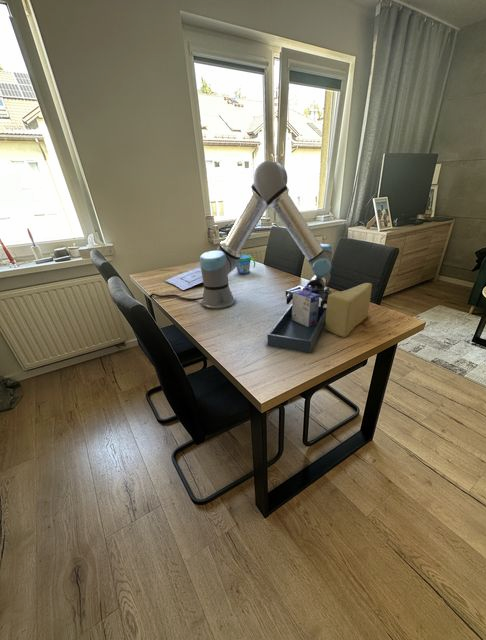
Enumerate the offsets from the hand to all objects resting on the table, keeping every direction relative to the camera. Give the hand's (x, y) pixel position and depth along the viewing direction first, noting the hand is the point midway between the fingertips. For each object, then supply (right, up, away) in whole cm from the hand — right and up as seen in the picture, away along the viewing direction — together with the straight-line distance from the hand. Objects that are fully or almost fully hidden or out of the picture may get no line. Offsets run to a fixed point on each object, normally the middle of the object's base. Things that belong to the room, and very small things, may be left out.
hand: (304, 303), depth 108 cm
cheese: (+19, -8, +3) cm, 21 cm away
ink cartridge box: (+1, -7, +6) cm, 9 cm away
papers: (-56, +24, +59) cm, 85 cm away
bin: (-2, -11, +1) cm, 11 cm away
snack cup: (-28, +31, +70) cm, 82 cm away
